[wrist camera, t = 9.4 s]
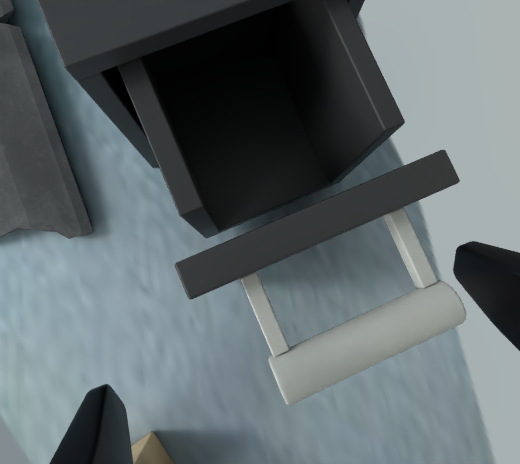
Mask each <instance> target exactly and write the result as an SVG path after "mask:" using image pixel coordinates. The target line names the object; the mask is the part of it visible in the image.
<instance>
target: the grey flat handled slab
mask: <svg viewBox="0 0 520 464" xmlns="http://www.w3.org/2000/svg"><path fill="white" fill-rule="evenodd" d="M14 11H15V10H14V7H13V4H12V1H11V0H0V237H1V236H3V235H5V234H7V233H9V232H11V231H13V230H15V229H16V228H21V229H34V230H43V231H53V232H58V233H60V234H61V235H63V236H65V237H67V238H69V239H70V238H73V237H76V236H80V235H88V234H90V233H92V232H93V228H92V225H91V222H90V220H89V217H88V214H87V211H86V208H85V206H84V203H83V200H82V197H81V194H80V192H79V189H78V186H77V183H76V180H75V178H74V175H73V172H72V169H71V166H70V164H69V161H68V158H67V155H66V152H65V150H64V147H63V144H62V141H61V139H60V136H59V133H58V130H57V127H56V125H55V122H54V119H53V116H52V113H51V111H50V108H49V105H48V102H47V99H46V97H45V94H44V91H43V88H42V85H41V83H40V80H39V77H38V74H37V71H36V69H35V66H34V63H33V60H32V57H31V55H30V52H29V49H28V46H27V43H26V41H25V38H24V35H23V32H22V29H21V28H20V27H18V26H14V25H9V24H5V23H6V22H7V21H8V20H9V18H10V17H11V15H12V14H13V12H14Z"/></svg>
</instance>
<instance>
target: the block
mask: <svg viewBox="0 0 520 464" xmlns="http://www.w3.org/2000/svg"><path fill="white" fill-rule="evenodd" d="M131 449H132V457H133V464H174V463H173V461H172V460H171V458H170V457H169V455H168V454H167V452H166V450H165V449H164V447H163V446H162V444H161V443H160V441H159V440H158V438H157V436H156V435H155V433H154V432H153V431H151V432H150V433H149V434H147V435H146V436H144V437H143V438H142V439H140V440H139V441H137V442H136V443H135V444H133V445H132V446H131Z"/></svg>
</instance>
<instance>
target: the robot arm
mask: <svg viewBox="0 0 520 464" xmlns="http://www.w3.org/2000/svg"><path fill="white" fill-rule="evenodd" d="M453 271H454V275H455V277H456V279H457V280H458V281H459V283H460V284H461V285H462V286H463V287H464V289H465V290H466V291H467V292H468V294H469V295H470V296H471V297H472V298H473V300H474V301H475V302H476V303H477V305H478V306H479V307H480V308H481V310H482V311H483V312H484V313H485V314H486V316H487V317H488V318H489V319H490V321H491V322H492V323H493V324H494V325H495V326H496V327H497V328H498V329H499V330H500V332H501V333H502V334H503V335H505V337H506V338H507V339H508V340H509V341H510V342H511V343H512V344H513V345H514V346H515V347H516V348H517V349H518V350H519V351H520V253H518V252H515V251H510V250H507V249H503V248H499V247H495V246H491V245H487V244H483V243H479V242H475V241H472V242H468V243H466V244H463V245H461V246H459V247H458V248H457V250H456V254H455V262H454V268H453ZM50 464H133V457H132V449H131V442H130V435H129V428H128V420H127V413H126V409H125V406H124V404H123V402H122V401H121V399H120V398H119V397H118V395H117V394H116V393H115V391H114V390H113V389H112V387H111V386H110V385H108V384H105V385H102V386H99V387H97V388H94V389H92V390H90V391H89V392H88V393H87V394H86V396H85V398H84V400H83V402H82V404H81V406H80V407H79V409H78V411H77V413H76V415H75V417H74V419H73V421H72V422H71V424H70V426H69V428H68V430H67V432H66V434H65V436H64V437H63V439H62V441H61V443H60V445H59V447H58V449H57V451H56V452H55V454H54V456H53V458H52V460H51V462H50Z"/></svg>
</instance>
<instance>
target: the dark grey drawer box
mask: <svg viewBox="0 0 520 464" xmlns="http://www.w3.org/2000/svg"><path fill="white" fill-rule="evenodd" d="M37 1H38V3H39V6H40V8H41V11H42V13H43V16H44V18H45V21H46V23H47V25H48V28H49V30H50V33H51V35H52V38H53V40H54V43H55V45H56V48H57V50H58V53H59V55H60V58H61V60H62V62H63V65H64V67H65V68H66V69H67V71H68V72H69V73H70V74H71V75H72V76H73V77H74V79H75V80H77V82H78V83H79V84H80V85H81V86H82V88H83V89H84V90H85V91H86V92H87V93H88V94H89V96H90V97H91V98H92V99H93V100H94V101H95V102H96V104H97V105H98V106H99V107H100V108H101V109H102V110H103V111H104V113H105V114H106V115H107V116H108V117H109V118H110V119H111V121H112V122H113V123H114V124H115V125H116V126H117V127H118V129H119V130H120V131H121V132H122V133H123V134H124V135H125V137H126V138H127V139H128V140H129V141H130V142H131V143H132V145H133V146H134V147H135V148H136V149H137V150H138V151H139V153H140V154H141V155H142V156H143V157H144V158H145V159H146V161H147V162H148V163H149V164H150V165H151V166H152V167H153V168H155V167H158V166H159V165H158V163H157V160H156V158H155V155H154V153H153V151H152V148H151V146H150V143H149V141H148V139H147V136H146V134H145V131H144V129H143V127H142V124H141V122H140V120H139V117H138V115H137V112H136V110H135V108H134V105H133V103H132V100H131V98H130V96H129V93H128V91H127V88H126V86H125V84H124V81H123V79H122V76H121V74H120V72H119V69H118V67H117V66H118V65H121V64H123V63H126V62H129V61H131V60H134V59H137V58H139V57H142V56H145V55H148V54H150V53H153V52H156V51H158V50H161V49H164V48H166V47H169V46H172V45H174V44H177V43H180V42H183V41H185V40H188V39H191V38H193V37H196V36H199V35H201V34H204V33H207V32H210V31H212V30H215V29H218V28H220V27H223V26H226V25H228V24H231V23H234V22H237V21H239V20H242V19H245V18H247V17H250V16H253V15H255V14H258V13H261V12H263V11H266V10H269V9H272V8H274V7H277V6H280V5H282V4H285V3H288V2H290V1H293V0H37ZM364 1H365V0H347V2H348V4H349V6H350V8H351V10H352V12H353V14H354V17H355V19H356V18H357V16H358V14H359V12H360V10H361V7H362V5H363V3H364Z"/></svg>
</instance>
